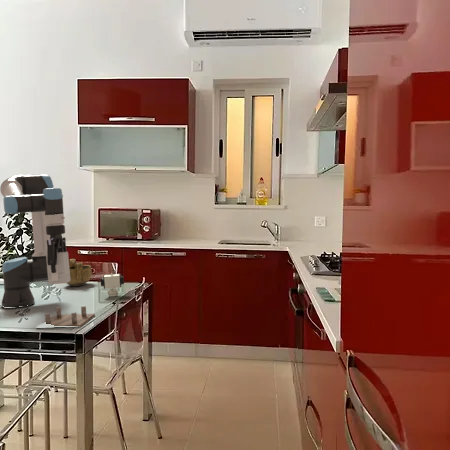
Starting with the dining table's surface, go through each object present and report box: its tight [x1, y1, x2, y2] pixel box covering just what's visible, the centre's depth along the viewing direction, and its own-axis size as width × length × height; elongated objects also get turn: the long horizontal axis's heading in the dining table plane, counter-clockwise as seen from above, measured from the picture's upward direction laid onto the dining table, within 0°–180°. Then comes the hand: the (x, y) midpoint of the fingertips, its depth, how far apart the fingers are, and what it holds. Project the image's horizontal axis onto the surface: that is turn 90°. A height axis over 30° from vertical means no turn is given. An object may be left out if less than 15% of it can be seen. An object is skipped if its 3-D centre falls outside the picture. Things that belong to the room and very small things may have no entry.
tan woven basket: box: [66, 258, 93, 287], centre depth 286 cm, size 22×17×15 cm
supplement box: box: [46, 251, 70, 285], centre depth 202 cm, size 7×7×13 cm
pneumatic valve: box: [99, 272, 125, 298], centre depth 250 cm, size 6×12×12 cm, turn 103°
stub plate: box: [43, 305, 96, 327], centre depth 200 cm, size 18×18×5 cm
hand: (59, 278), depth 202 cm, fingers closed on supplement box, 8 cm apart
